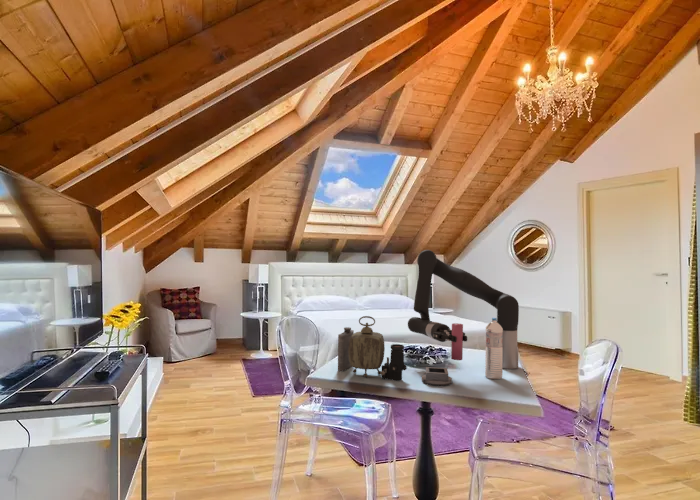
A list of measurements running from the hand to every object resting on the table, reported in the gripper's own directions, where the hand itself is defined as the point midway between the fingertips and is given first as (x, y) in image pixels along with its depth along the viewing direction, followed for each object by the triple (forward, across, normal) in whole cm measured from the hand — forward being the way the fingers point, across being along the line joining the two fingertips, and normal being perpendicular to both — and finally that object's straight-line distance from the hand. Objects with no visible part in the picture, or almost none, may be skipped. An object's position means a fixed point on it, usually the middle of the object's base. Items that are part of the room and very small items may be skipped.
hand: (461, 339), depth 166 cm
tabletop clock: (-22, -32, +18) cm, 42 cm away
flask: (-37, -35, +18) cm, 54 cm away
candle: (-3, 0, +8) cm, 9 cm away
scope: (-14, -22, +18) cm, 32 cm away
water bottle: (-3, +19, +18) cm, 26 cm away
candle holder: (-6, -8, +18) cm, 20 cm away
